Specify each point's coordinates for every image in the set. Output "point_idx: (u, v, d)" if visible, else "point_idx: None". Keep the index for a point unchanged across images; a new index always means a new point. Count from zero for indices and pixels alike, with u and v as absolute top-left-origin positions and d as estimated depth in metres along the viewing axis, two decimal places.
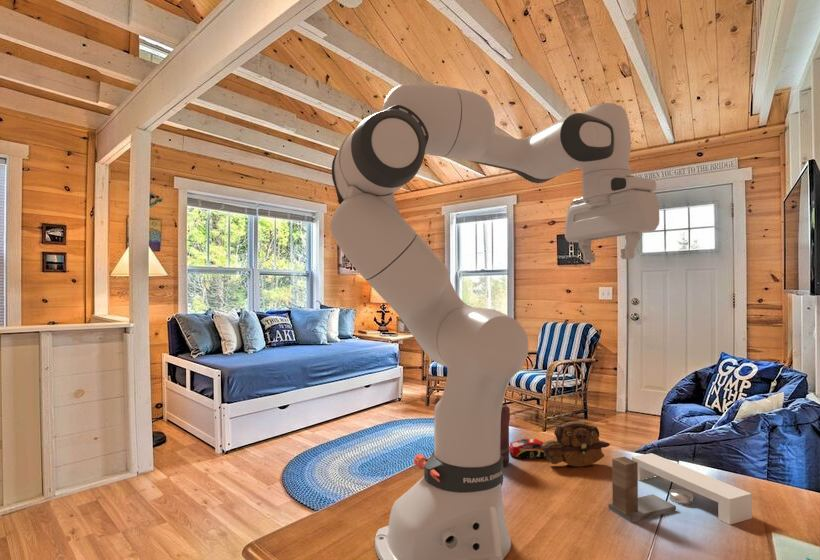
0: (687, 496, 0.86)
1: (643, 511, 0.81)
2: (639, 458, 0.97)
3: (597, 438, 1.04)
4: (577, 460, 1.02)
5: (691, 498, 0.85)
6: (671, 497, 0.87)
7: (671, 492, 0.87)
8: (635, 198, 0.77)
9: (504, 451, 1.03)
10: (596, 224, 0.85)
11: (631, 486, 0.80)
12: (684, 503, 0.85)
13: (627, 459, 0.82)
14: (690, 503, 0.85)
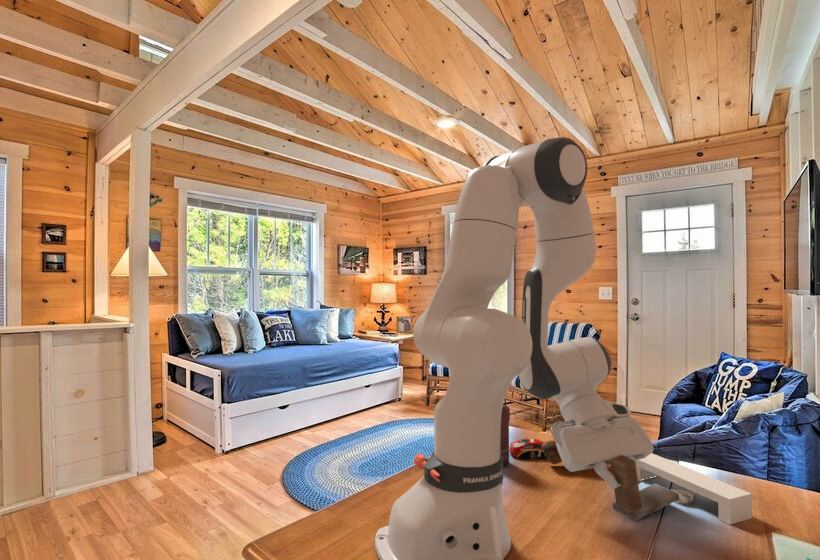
0: (687, 495, 0.86)
1: (646, 507, 0.81)
2: None
3: None
4: None
5: (691, 498, 0.85)
6: None
7: None
8: (637, 424, 0.90)
9: (504, 451, 1.03)
10: (608, 445, 0.85)
11: (632, 485, 0.80)
12: (684, 503, 0.85)
13: (624, 458, 0.82)
14: (690, 503, 0.85)
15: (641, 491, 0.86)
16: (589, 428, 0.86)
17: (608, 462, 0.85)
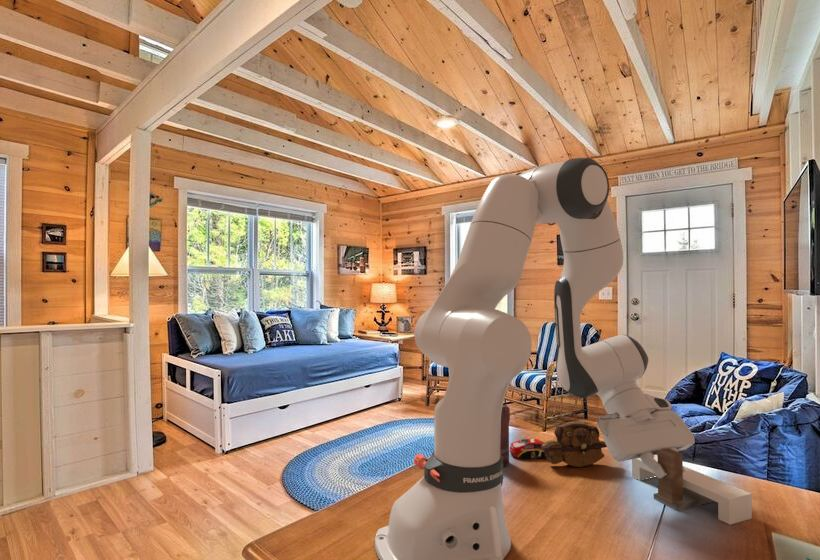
0: None
1: (688, 500, 0.85)
2: (639, 458, 0.97)
3: (597, 438, 1.04)
4: (577, 460, 1.02)
5: None
6: None
7: None
8: (678, 416, 0.94)
9: (504, 451, 1.03)
10: (652, 436, 0.89)
11: (677, 476, 0.85)
12: None
13: (672, 450, 0.87)
14: None
15: None
16: (633, 420, 0.91)
17: (652, 453, 0.89)
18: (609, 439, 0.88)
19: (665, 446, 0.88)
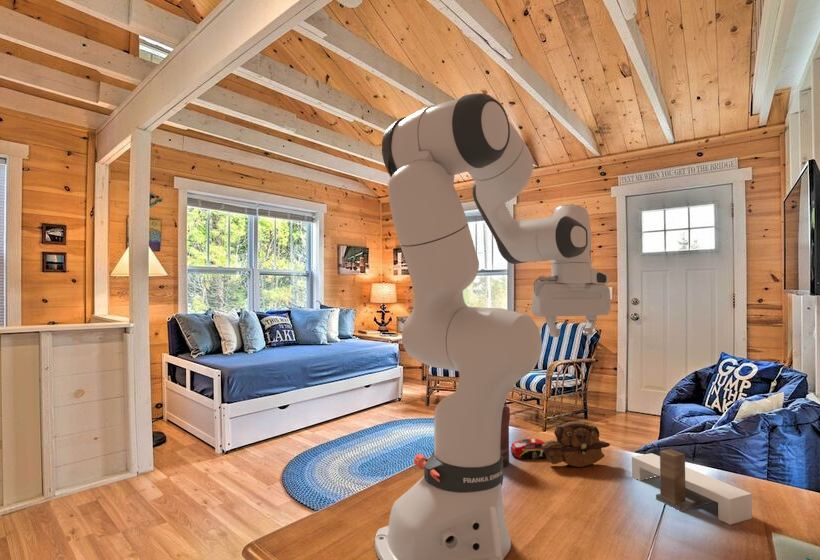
0: None
1: (690, 501, 0.85)
2: (639, 458, 0.97)
3: (597, 438, 1.04)
4: (577, 460, 1.02)
5: None
6: None
7: None
8: (608, 292, 1.03)
9: (504, 451, 1.03)
10: (574, 305, 1.00)
11: (680, 477, 0.84)
12: None
13: (674, 451, 0.86)
14: None
15: None
16: (566, 288, 0.99)
17: None
18: (536, 299, 0.98)
19: (579, 314, 1.00)
